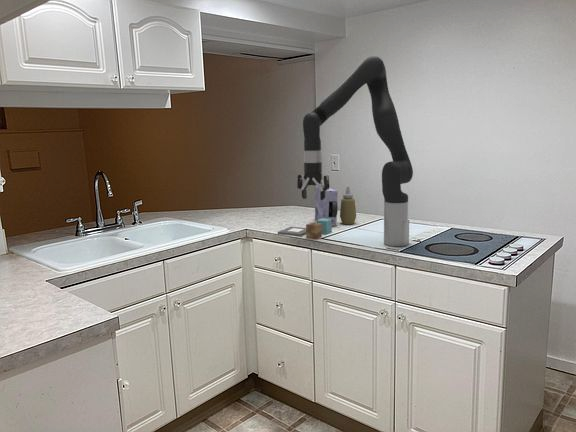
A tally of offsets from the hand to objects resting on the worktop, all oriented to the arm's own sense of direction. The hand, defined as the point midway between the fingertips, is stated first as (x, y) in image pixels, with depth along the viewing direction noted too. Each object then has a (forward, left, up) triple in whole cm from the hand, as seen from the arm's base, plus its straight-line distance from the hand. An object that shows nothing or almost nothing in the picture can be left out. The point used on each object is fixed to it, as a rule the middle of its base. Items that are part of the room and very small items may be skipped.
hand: (313, 199), depth 199 cm
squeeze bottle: (-2, -32, -17) cm, 36 cm away
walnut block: (0, 0, -17) cm, 17 cm away
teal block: (0, -10, -17) cm, 20 cm away
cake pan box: (+8, -28, -17) cm, 34 cm away
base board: (+12, -5, -17) cm, 21 cm away
